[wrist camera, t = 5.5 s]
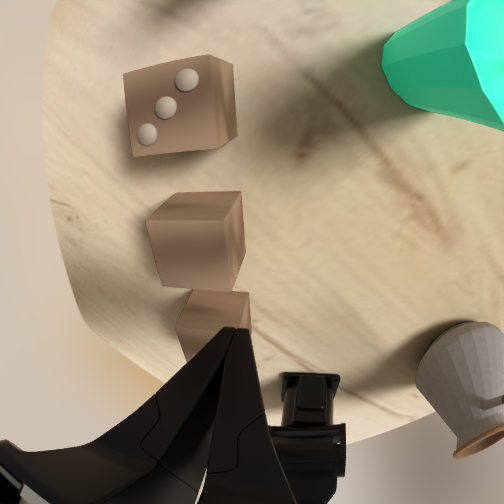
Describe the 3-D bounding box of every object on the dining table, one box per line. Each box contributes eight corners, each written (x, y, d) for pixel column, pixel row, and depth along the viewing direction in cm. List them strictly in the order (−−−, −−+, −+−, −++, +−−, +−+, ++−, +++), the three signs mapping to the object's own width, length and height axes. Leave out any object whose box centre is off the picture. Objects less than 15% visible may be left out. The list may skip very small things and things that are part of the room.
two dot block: (251, 331, 27) (241, 373, 23) (201, 326, 28) (185, 365, 23) (249, 291, 24) (236, 335, 20) (192, 287, 25) (172, 327, 21)
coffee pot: (484, 359, 25) (513, 456, 12) (408, 384, 28) (421, 492, 16) (515, 208, 16) (619, 326, 3) (408, 238, 19) (486, 418, 7)
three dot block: (237, 135, 18) (215, 149, 13) (167, 141, 19) (129, 158, 14) (232, 64, 15) (208, 54, 11) (161, 75, 16) (119, 74, 12)
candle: (368, 82, 14) (468, 69, 4) (396, 13, 11) (494, -52, 1) (441, 127, 14) (567, 185, 4) (467, 61, 11) (593, 67, 1)
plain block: (245, 252, 22) (231, 291, 18) (186, 249, 23) (162, 286, 19) (241, 191, 20) (223, 220, 16) (176, 192, 21) (145, 220, 16)
